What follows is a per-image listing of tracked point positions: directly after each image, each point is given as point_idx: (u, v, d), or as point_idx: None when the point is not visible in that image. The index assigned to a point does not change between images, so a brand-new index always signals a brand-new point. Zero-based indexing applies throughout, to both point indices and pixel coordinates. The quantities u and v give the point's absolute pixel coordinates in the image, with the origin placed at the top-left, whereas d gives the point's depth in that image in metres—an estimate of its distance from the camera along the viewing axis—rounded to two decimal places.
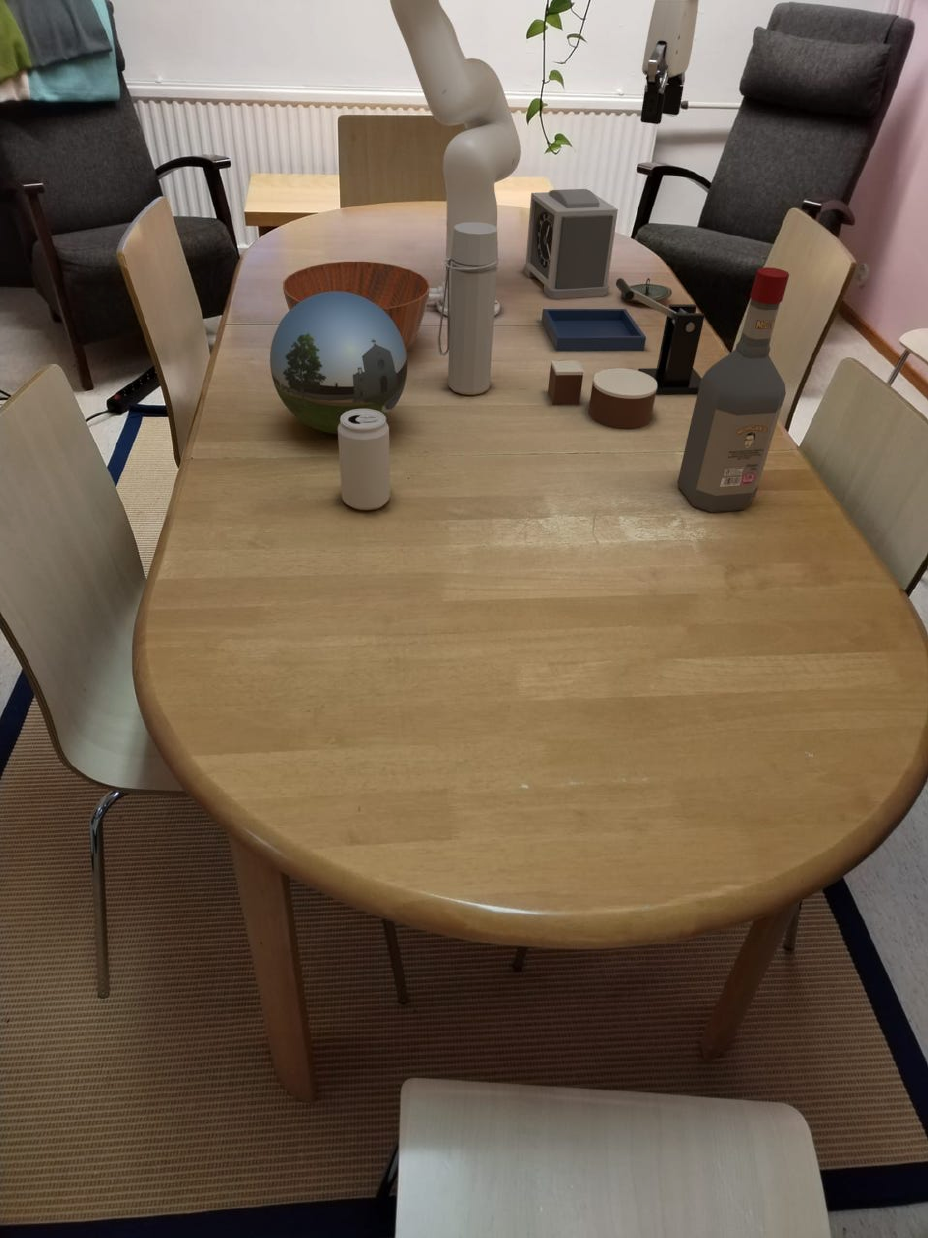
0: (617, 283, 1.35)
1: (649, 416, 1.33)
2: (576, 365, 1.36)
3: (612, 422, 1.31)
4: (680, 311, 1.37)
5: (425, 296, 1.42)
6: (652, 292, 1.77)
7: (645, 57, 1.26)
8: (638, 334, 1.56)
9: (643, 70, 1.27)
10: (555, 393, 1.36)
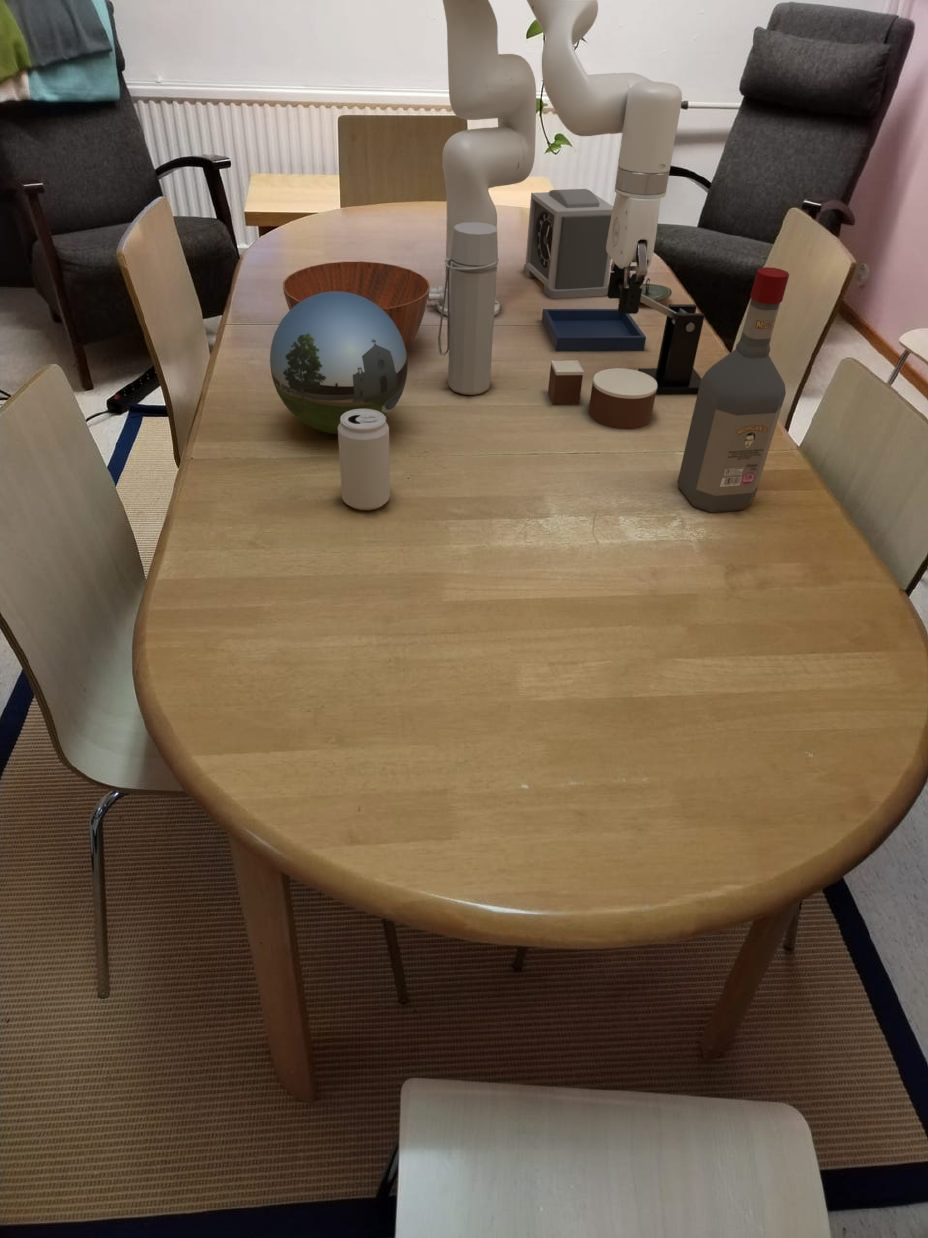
0: (617, 283, 1.35)
1: (649, 416, 1.33)
2: (576, 365, 1.36)
3: (612, 422, 1.31)
4: (680, 311, 1.37)
5: (425, 296, 1.42)
6: (652, 292, 1.77)
7: (625, 255, 1.25)
8: (638, 334, 1.56)
9: (623, 266, 1.27)
10: (555, 393, 1.36)
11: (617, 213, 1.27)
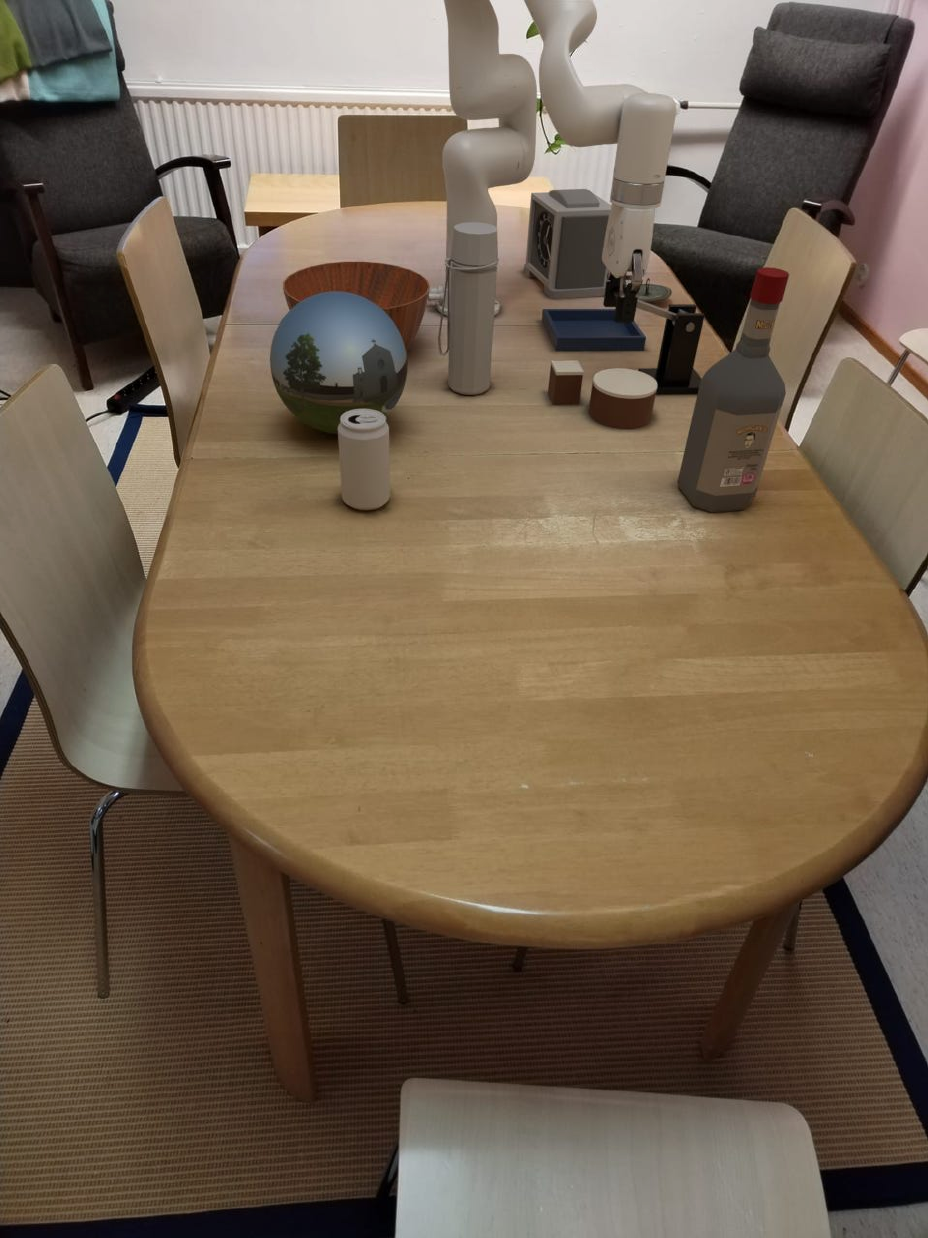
0: (613, 292, 1.36)
1: (649, 416, 1.33)
2: (576, 365, 1.36)
3: (612, 422, 1.31)
4: (679, 312, 1.37)
5: (425, 296, 1.42)
6: (652, 292, 1.77)
7: (621, 264, 1.26)
8: (638, 334, 1.56)
9: (618, 275, 1.27)
10: (555, 393, 1.36)
11: (612, 223, 1.27)
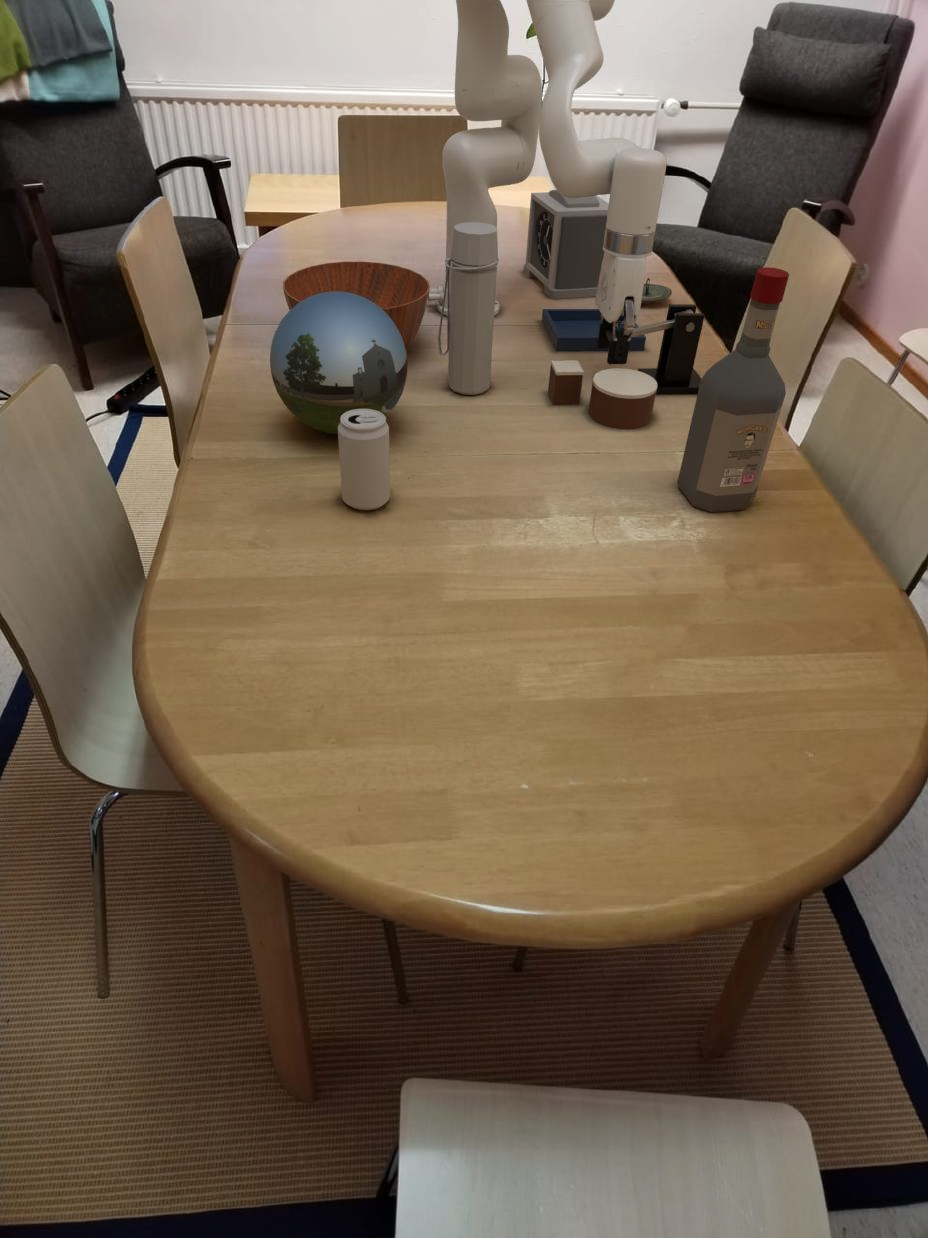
0: (605, 334, 1.40)
1: (649, 416, 1.33)
2: (576, 365, 1.36)
3: (612, 422, 1.31)
4: (675, 316, 1.38)
5: (425, 296, 1.42)
6: (652, 292, 1.77)
7: (613, 310, 1.31)
8: None
9: (611, 320, 1.32)
10: (555, 393, 1.36)
11: (605, 270, 1.32)
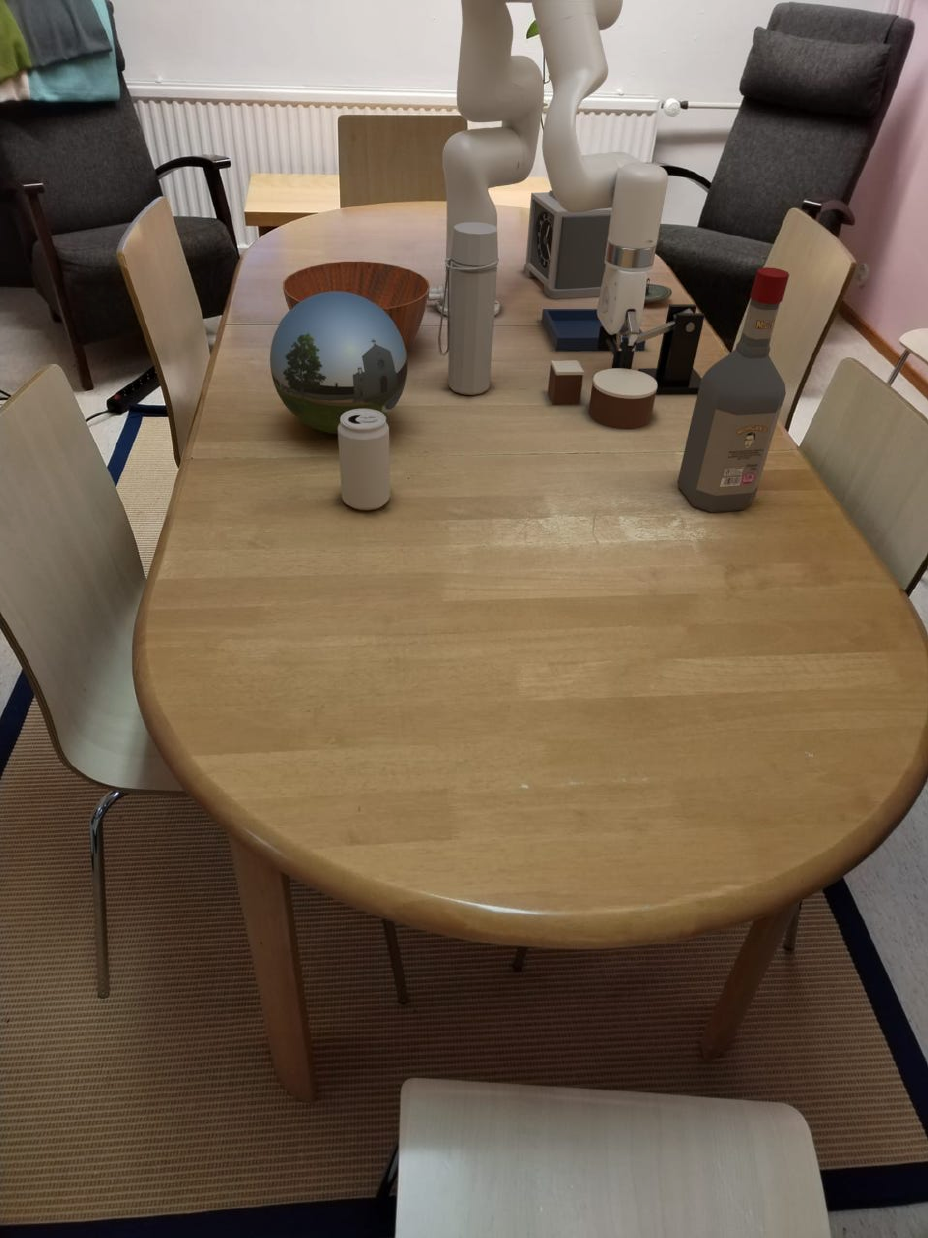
0: (607, 345, 1.42)
1: (649, 416, 1.33)
2: (576, 365, 1.36)
3: (612, 422, 1.31)
4: (674, 318, 1.38)
5: (425, 296, 1.42)
6: (652, 292, 1.77)
7: (615, 323, 1.32)
8: None
9: (612, 333, 1.33)
10: (555, 393, 1.36)
11: (607, 282, 1.33)
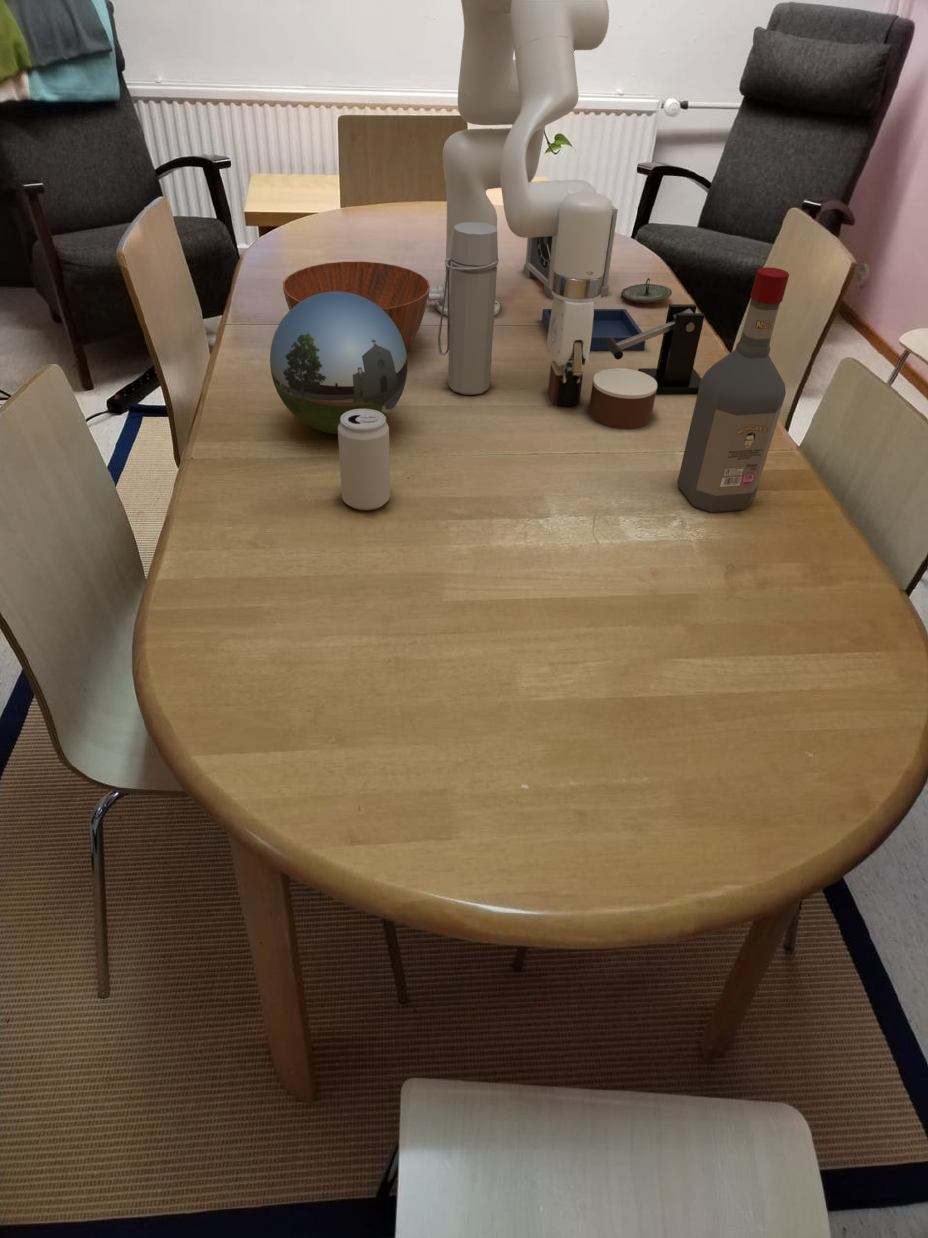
0: (607, 345, 1.42)
1: (649, 416, 1.33)
2: None
3: (612, 422, 1.31)
4: (674, 318, 1.38)
5: (425, 296, 1.42)
6: (652, 292, 1.77)
7: (562, 354, 1.29)
8: None
9: (560, 364, 1.30)
10: (555, 393, 1.36)
11: (555, 313, 1.30)
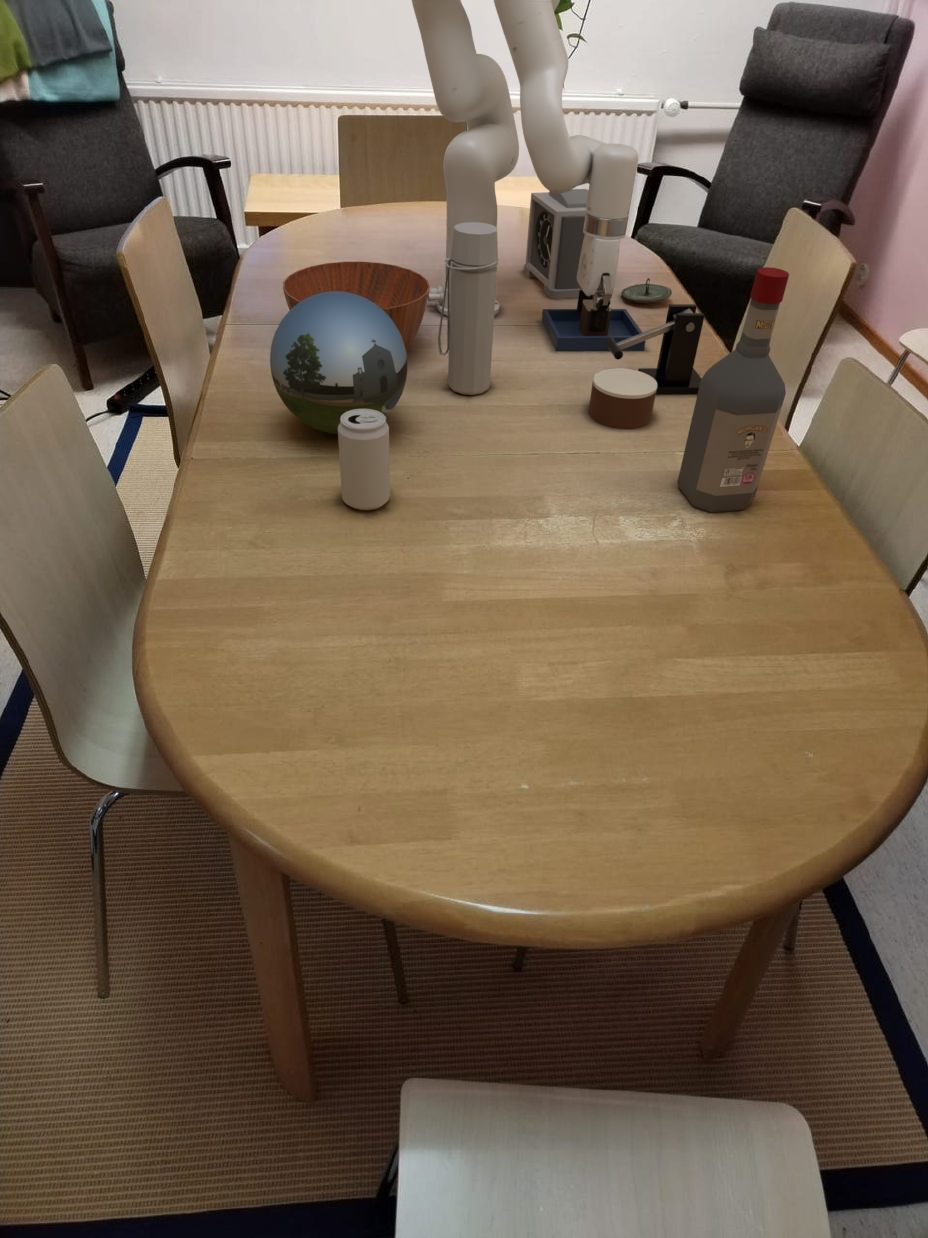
0: (607, 345, 1.42)
1: (649, 416, 1.33)
2: None
3: (612, 422, 1.31)
4: (674, 318, 1.38)
5: (425, 296, 1.42)
6: (652, 292, 1.77)
7: (591, 285, 1.50)
8: None
9: (589, 294, 1.51)
10: (587, 327, 1.57)
11: (585, 250, 1.51)
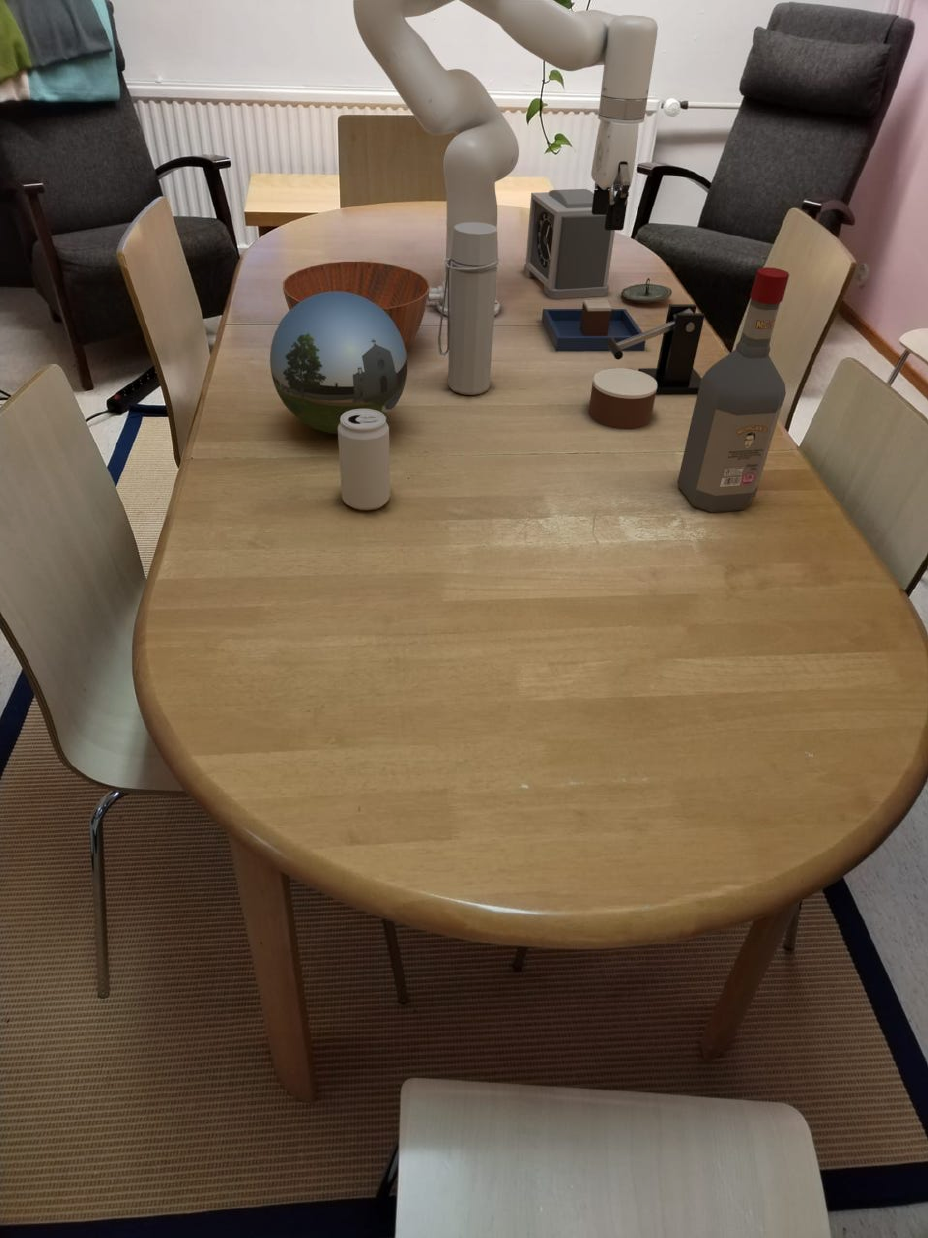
0: (607, 345, 1.42)
1: (649, 416, 1.33)
2: (605, 303, 1.57)
3: (612, 422, 1.31)
4: (674, 318, 1.38)
5: (425, 296, 1.42)
6: (652, 292, 1.77)
7: (608, 176, 1.39)
8: None
9: (606, 186, 1.40)
10: (587, 327, 1.57)
11: (600, 139, 1.40)
